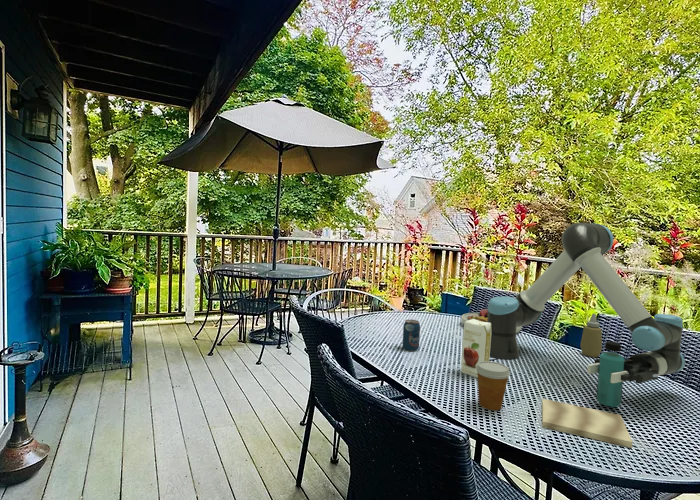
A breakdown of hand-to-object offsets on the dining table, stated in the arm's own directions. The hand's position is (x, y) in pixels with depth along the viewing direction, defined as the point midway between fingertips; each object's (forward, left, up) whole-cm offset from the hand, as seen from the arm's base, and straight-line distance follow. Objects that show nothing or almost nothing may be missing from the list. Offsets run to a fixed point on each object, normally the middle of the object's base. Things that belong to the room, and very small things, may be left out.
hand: (600, 373), depth 118 cm
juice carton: (-37, +10, -11) cm, 40 cm away
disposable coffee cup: (-29, -14, -11) cm, 34 cm away
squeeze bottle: (+4, +60, -11) cm, 61 cm away
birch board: (-5, -12, -11) cm, 17 cm away
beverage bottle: (+3, +4, -11) cm, 12 cm away
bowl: (-39, +82, -12) cm, 91 cm away
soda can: (-65, +24, -11) cm, 70 cm away
